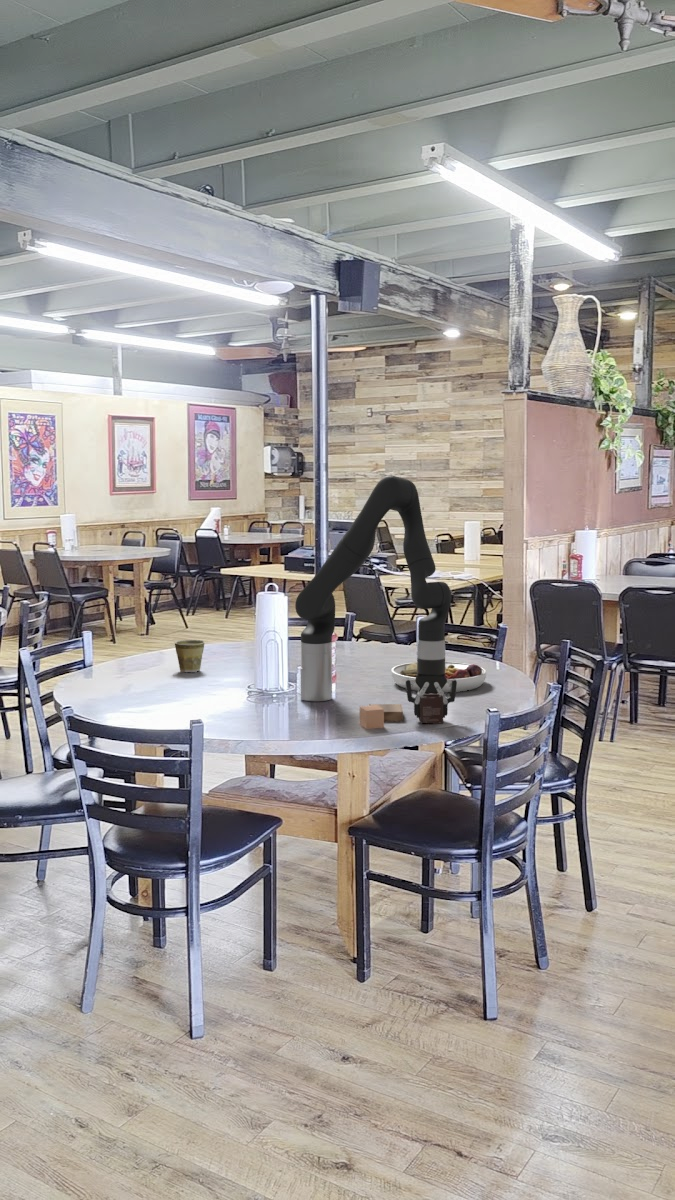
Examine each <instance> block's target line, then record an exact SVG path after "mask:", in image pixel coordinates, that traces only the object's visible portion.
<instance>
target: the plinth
mask: <svg viewBox="0 0 675 1200" xmlns="http://www.w3.org/2000/svg"><path fill="white" fill-rule="evenodd" d="M374 705H378V706H379V707H381V708H383V709H384V722H404V711H403V706H402V705H403V704H400V703H395V704H394V703H388V704H387V703H386V704H385V703H384V704H383V703H382V704H381V703H373V704H372V703H369V704H368V706H374Z"/></svg>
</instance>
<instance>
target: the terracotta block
mask: <svg viewBox="0 0 675 1200" xmlns="http://www.w3.org/2000/svg"><path fill="white" fill-rule="evenodd" d="M359 725H360V726H361V727H362V728H363V729H365V730H368V729H370V730H371V729H384V728H385V721H384V709H383V708H381V707H379V706H378V705H374V706H369V705H366V706H365V705H362V706H359Z"/></svg>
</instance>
